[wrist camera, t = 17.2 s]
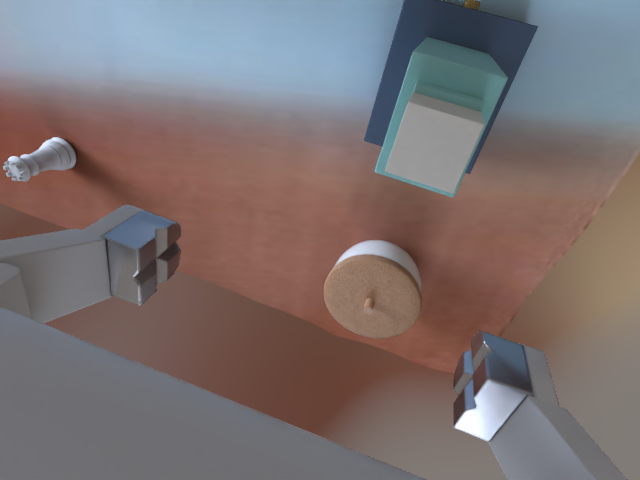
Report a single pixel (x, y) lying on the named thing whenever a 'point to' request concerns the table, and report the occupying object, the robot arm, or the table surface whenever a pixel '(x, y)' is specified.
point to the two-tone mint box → (440, 115)
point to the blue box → (453, 27)
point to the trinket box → (374, 290)
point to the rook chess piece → (42, 160)
